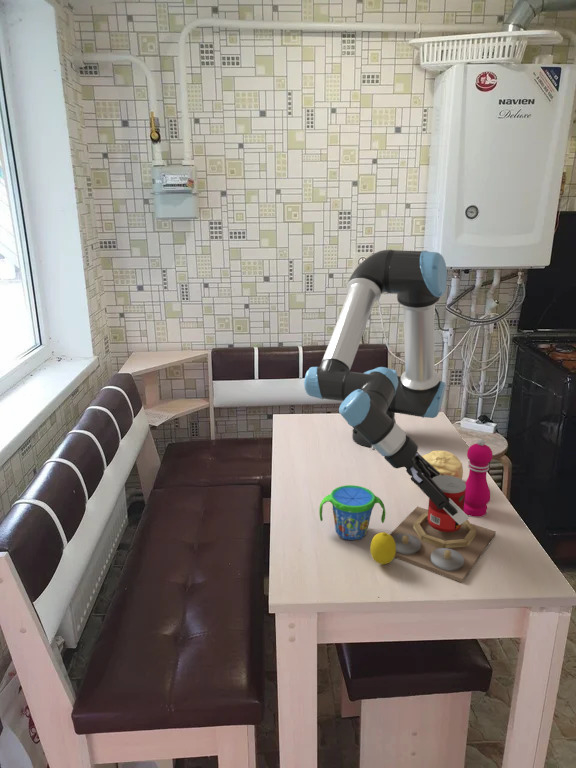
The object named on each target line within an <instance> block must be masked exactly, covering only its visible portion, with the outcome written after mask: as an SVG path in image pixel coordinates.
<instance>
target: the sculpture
mask: <svg viewBox="0 0 576 768" xmlns="http://www.w3.org/2000/svg"><path fill="white" fill-rule="evenodd" d="M421 456H422V457H423V458H424V459H425V460H426V461H427V462H428V463H430V464H431V465H432V466H433V467H434V468H435V469H436V470H437V471H439V473H440V475H442V474H443V475H448V476H453V477H457V478H459V479H461V480H463V477H464V468H463V463H462V462H461V460H460V458H458V456H456V455H455V454H454V453H452V452H450V451H447V450H432V451H431V452H428V453H426V454H423V455H421Z"/></svg>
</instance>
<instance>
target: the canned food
mask: <svg viewBox="0 0 576 768" xmlns="http://www.w3.org/2000/svg"><path fill="white" fill-rule="evenodd" d="M432 480H433V481H434V482H435V483H436V484H437V486H438V487H439V488H440V489H441V490H442V492H443V493H444V494H445V495H446V496H447V498H450V499H451V500H452V501H453V502H454V503H455V504H456V505H457V506H458V507H459V508H460V509H461V510H462V511H464V501H465V492H466V484H465V483H466V481H464V480H463V479H462V480H461V479H459V478H457V477H453V476H448V475H440V476H435V477H433V478H432ZM427 510H428V523H429V525H430V526H431V527H433V528H434V529H436V530H439V531H443V532H454V531H457V530H459V529H460V527H461V525H462V524H461V525H459V524H458V523H457V522H456V521H455V520H454V519H453V518H452V517H451V516H450V515H449V514H448V513H447V512H446V511H445V510H444V509H443V508H442V509H441V510H440V509H437V506H436V505H435V504H434V503H433V502H432V501H431V500H430V498H429V497H428V507H427Z"/></svg>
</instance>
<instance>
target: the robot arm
mask: <svg viewBox="0 0 576 768" xmlns="http://www.w3.org/2000/svg"><path fill="white" fill-rule="evenodd" d="M447 279H448V270H447V265H446V260H445V258H444V257H443V255H442V254H441V253H440V252H436V251H428V250H394V249H384V250H379V251H377V252H375V253H372V254H371V255H369V256H368V257H366V258H365V259H363V260H362V261H361V262H360V263H359V265H358V266H357V267H356V268H355V269H354V271H353V272H352V273H351V276H350V278H349V280H348V282H347V285H346V291H347V294H346V298H345V299H344V302H343V305H342V308H341V311H340V313H339V314H338V315H339V316H338V318H337V322H336V324H335V326H334V329H333V332H332V334H331V337H330V338H329V342H328V345H327V347H326V350H325V352H324V355H323V358H322V360H321V363H320V365H319V366H311V367H309V369H308V370H306V373H305V376H304V380H303V381H304V382H303V385H304V390H305V393H306V395H308V397H309V396H310V397H312V398H317V399H319V400H320V399H321V400H331V401H338V402H341V403H340V405H339V408H338V412H339V415H341V417H342V418H343V419H344V420H345V421H346V423H347V424H348V425H349V426H351V427H352V429H353V430H352V435H351V436H352V440H353V441H354V442H355V443H356V444H357V445H361V446H363V447H369V448H371V450H373V451H375V450H376V451H377V452H378V453H379V454H380V455H381V456H382V457H384V459H385V461H387V463H388V464H389V465H391V467H392V468H394V469H400V468H405V469H406V470H405V471H406V473H407V474H408V475H409V476H410V480H411V482H412V483H414V485H416V486H417V487H418V488H419V489H420V490H421V491H422V492H423V494H424V495H426V496H427V498H428V499H429V498H430V500H431V501H432V502H433V503H434V504H435V505H436V506H437V509H440V510H441V509H442V508H443V509H444V510H445V511H446V512H447V513H448V514H449V515H450V516H451V517H452V518H453V519H454V520H455V521H456V522H457V523H458V524H459V525H461V524H462V523H463V522H465V521H466V520H469V519H470V517H469V515H467V514H465V513H464V512H463V511H462V510H461V509H460V508H459V507H458V506H457V505H456V504H455V503H454V502H453V501H452V500H451V499H450V498H447V496H446V495H445V494H444V493H443V492H442V490H441V489H440V488H439V487H438V486H437V484H436V483H435V482H434V481H433V480H432V478H433V477H435V476H440V473H439V471H437V470H436V469H435V468H434V467H433V466H432V465H431V464H430V463H428V462H427V461H426V460H425V459H424V458H423V457H422V456H423V455H421V454H420V453H419V452H418V449H419V446H418V444H417V443H416V442H415V441H414V440H413V439H412V438H411V437H410V436H409V435H407V434H406V432H405V431H404V429H402V428H401V426H400V425H398V423H397V422H396V419H395V418H396V417H395V415H396V414H399V415H400V414H402V415H408V416H413V417H418V418H419V417H420V418H422V419H423V418H430V419H435V418H437V416H438V415H439V413H440V411H441V407H442V403H443V401H444V400H443V399H444V396H445V391H446V382H444V381H442V380H440V374H439V373H438V372H437V371H436V370H435V305H437V303H439V302H440V299H441V298H442V297H443V296H444V295H445V294H446V291H447V285H448V284H447ZM383 293H384V294H385V293H388V294H396V296H397V297H396V298H397V303H398V304H399V305H400V306H402V310H403V313H402V314H403V337H404V338H403V339H404V340H403V341H404V342H403V343H404V346H403V347H404V369H405V370H404V371H403V372H402V373H401V376H400V375H398V372H397V370H396V369H392V368H388V367H385V366H378V367H375V368H374V369H370V370H367V371H364V372H363V373H362V372H357V371H356V372H355V371H351V369H352V366H353V363H354V361H355V357H356V355H357V352H358V349H359V346H360V343H361V341H362V338H363V335H364V332H365V330H366V327H367V323H368V322H369V319H370V316H371V313H372V311H373V308H374V307H373V306H374V305H375V303H376V302H378V301H379V300H380V298H381V296H382V294H383ZM395 413H396V414H395ZM442 475H443V474H442Z"/></svg>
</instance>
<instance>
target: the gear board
mask: <svg viewBox="0 0 576 768" xmlns="http://www.w3.org/2000/svg"><path fill="white" fill-rule="evenodd" d="M404 518H405V519H403V520H402V522H400V523H399V524H398V525H397V526H396V527H395V529H393V531H391V532H390V533H389V534H390V535H391V536H392V537H393V539H394V541H395V544H396V553H395V557H394V559H398V560H400V561H403V562H406V563H409V564H411V565H413V566H417V567H418V568H421V569H424V570H427V571H430V572H432V573H434V572H435V573H434V574H437V573H438V575H440V574H441V575H440V576H442V575H443V577H445V578H447V579H450V578H451V580H453V579H454V580H453V581H455V580H457V581H456V582H458V581H459V582H458V583H460V584H463V583H464V581H465V580H466V578H467V577H468V575H469V574H470V573H469V572H471V571H472V569H474V567H475V565H476V564H477V563H478V562H479V560H480V558H481V557H480V556H482V555H483V554H484V553H485V551H486V549H487V548H488V546H489V545H490V544H489V543H491V542H492V541H493V539H494V538H495V536H496V533H497V531H495V530H493V529H489V528H486V527H483V526H480V525H477V524H475V523H471V522H470V521H469V519H467V520H466V521H465V522H463V523H462V525H461V527H460V529H459V530H457V531H454V532H443V531H439V530H436V529H434V528H433V527H431V526H430V525H429V523H428V508H424V507H420V506H416V507H415V508H414V509H413V510H412V511H411V512H410V513H409V515H407V516H406V517H404ZM462 582H463V583H462Z"/></svg>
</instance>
